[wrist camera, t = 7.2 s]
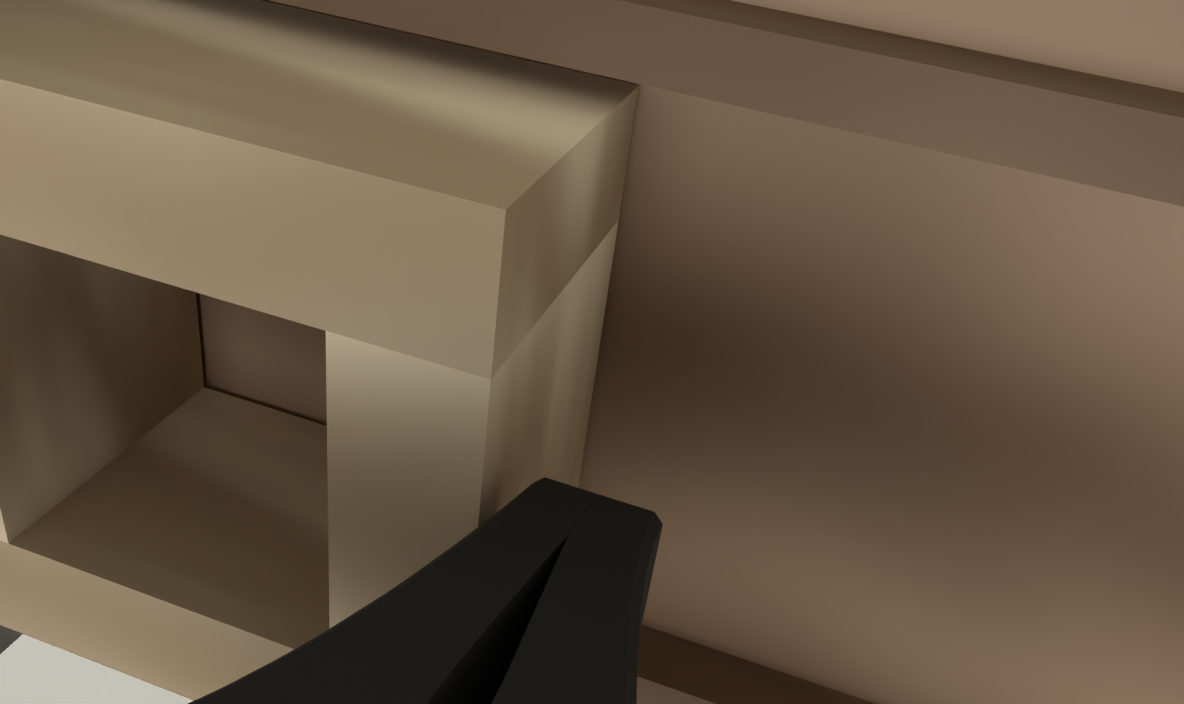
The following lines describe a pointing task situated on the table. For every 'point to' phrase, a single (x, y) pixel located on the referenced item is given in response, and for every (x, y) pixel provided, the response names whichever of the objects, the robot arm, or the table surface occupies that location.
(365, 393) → the wooden square frame
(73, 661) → the table surface
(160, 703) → the table surface
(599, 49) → the rail board
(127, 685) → the table surface
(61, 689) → the table surface
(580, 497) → the robot arm
